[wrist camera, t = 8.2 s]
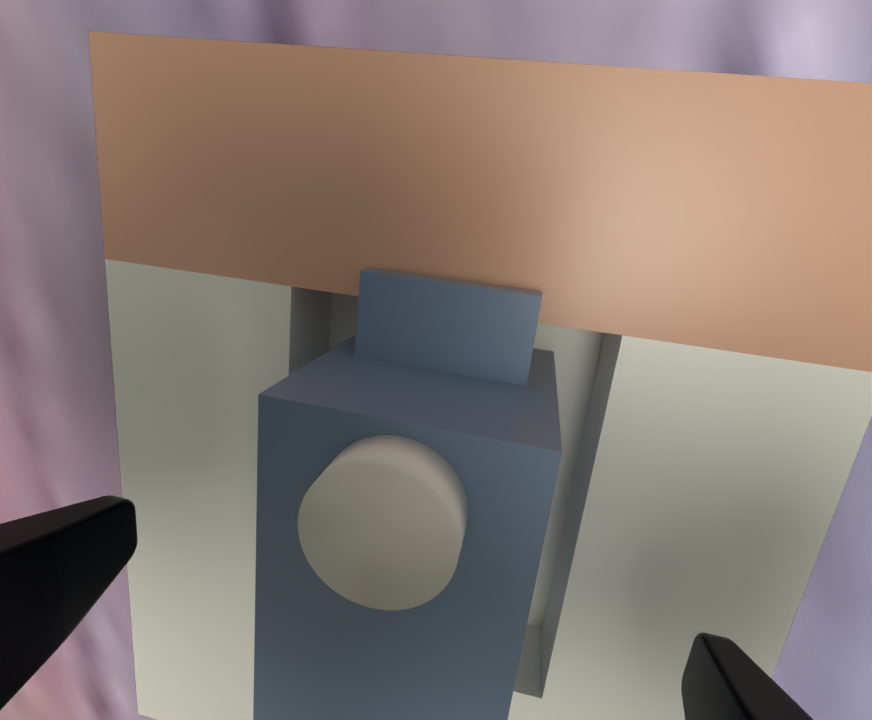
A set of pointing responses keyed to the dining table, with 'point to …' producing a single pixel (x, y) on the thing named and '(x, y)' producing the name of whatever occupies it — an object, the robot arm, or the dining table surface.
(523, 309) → the block
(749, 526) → the chassis plate
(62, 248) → the dining table surface
